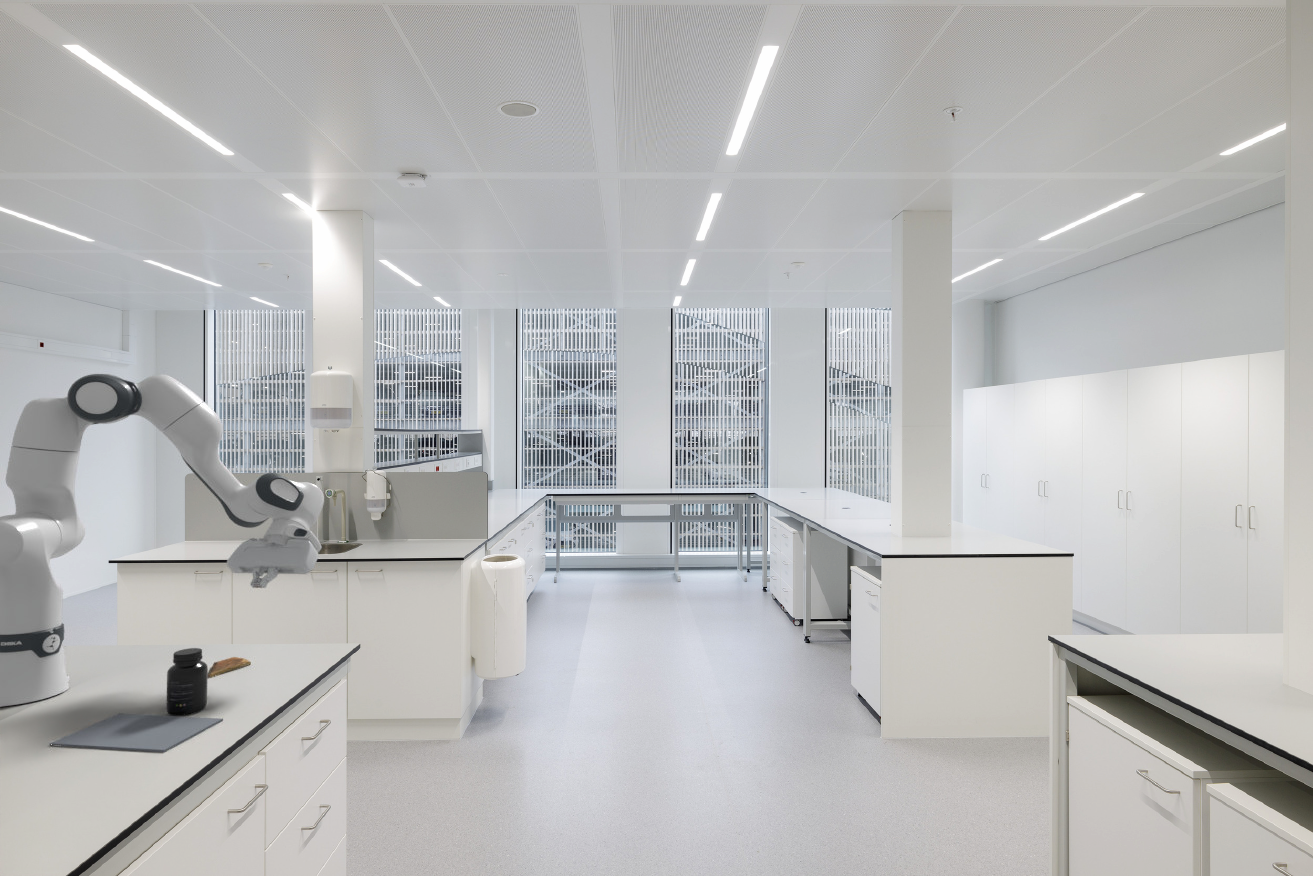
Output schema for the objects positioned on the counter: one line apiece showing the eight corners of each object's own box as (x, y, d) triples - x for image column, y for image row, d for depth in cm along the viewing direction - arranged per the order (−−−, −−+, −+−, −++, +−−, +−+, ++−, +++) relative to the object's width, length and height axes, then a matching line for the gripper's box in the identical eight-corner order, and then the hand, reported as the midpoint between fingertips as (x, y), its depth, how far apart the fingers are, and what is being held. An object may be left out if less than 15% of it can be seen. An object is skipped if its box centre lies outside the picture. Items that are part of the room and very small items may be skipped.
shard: (209, 680, 155) (209, 672, 155) (186, 676, 158) (186, 668, 158) (252, 666, 165) (252, 659, 166) (230, 663, 168) (230, 655, 168)
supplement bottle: (173, 706, 138) (175, 647, 139) (211, 702, 140) (213, 645, 141) (159, 718, 132) (161, 657, 132) (200, 715, 134) (201, 654, 134)
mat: (49, 745, 119) (49, 743, 119) (119, 715, 133) (119, 713, 133) (164, 752, 117) (164, 750, 117) (222, 720, 131) (223, 718, 131)
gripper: (239, 530, 165) (208, 578, 155) (317, 531, 163) (292, 579, 153) (251, 546, 170) (222, 593, 160) (328, 547, 168) (303, 594, 158)
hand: (257, 586), depth 157 cm, fingers closed
